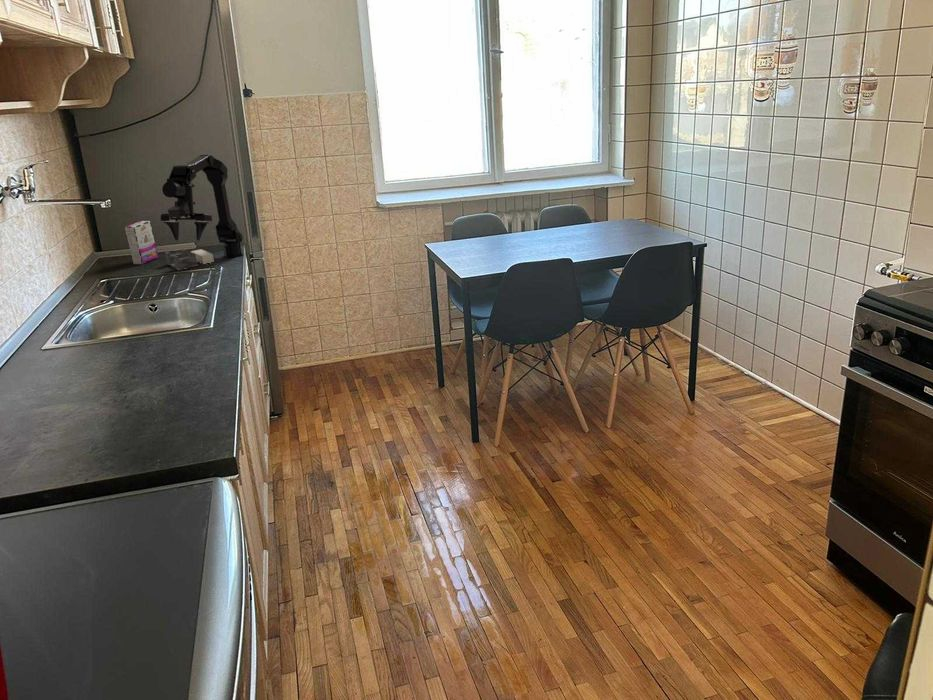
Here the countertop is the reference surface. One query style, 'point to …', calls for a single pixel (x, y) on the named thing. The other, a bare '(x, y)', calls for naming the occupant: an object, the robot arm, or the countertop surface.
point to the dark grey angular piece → (181, 259)
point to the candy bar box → (141, 242)
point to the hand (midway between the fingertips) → (187, 240)
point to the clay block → (203, 256)
